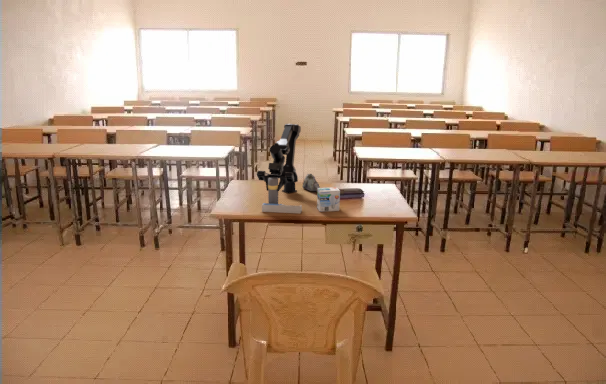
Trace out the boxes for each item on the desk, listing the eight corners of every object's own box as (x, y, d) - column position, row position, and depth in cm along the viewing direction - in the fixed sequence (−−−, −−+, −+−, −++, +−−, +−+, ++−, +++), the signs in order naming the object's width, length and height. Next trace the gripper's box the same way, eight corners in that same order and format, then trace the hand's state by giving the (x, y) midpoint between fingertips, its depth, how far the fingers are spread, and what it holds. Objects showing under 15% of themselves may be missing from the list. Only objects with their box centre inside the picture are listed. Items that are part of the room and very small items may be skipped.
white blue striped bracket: (261, 211, 229) (261, 203, 228) (263, 209, 233) (263, 201, 231) (300, 213, 226) (300, 205, 225) (301, 210, 230) (301, 203, 229)
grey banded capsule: (266, 202, 235) (266, 178, 231) (276, 201, 237) (276, 177, 233) (270, 205, 230) (270, 180, 226) (280, 204, 232) (279, 179, 228)
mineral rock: (320, 194, 260) (320, 176, 257) (301, 193, 260) (301, 176, 258) (320, 188, 272) (320, 171, 269) (302, 187, 273) (302, 171, 270)
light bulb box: (319, 212, 229) (319, 191, 226) (316, 207, 235) (316, 187, 232) (340, 210, 231) (340, 190, 228) (336, 206, 237) (337, 186, 234)
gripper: (257, 155, 232) (250, 181, 225) (292, 157, 228) (287, 184, 221) (262, 166, 242) (256, 192, 235) (296, 168, 238) (291, 195, 231)
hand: (272, 190), depth 230 cm, fingers closed on grey banded capsule, 5 cm apart
